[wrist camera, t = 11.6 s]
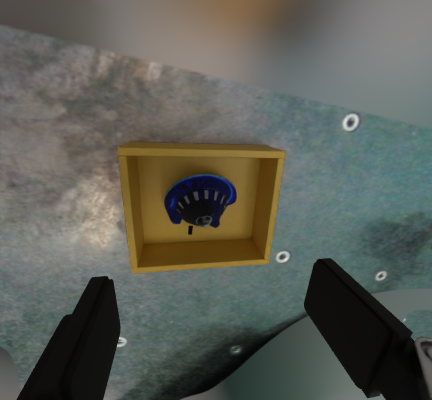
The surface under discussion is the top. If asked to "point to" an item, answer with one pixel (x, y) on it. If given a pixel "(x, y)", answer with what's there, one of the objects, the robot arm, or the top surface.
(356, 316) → the robot arm
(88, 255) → the top surface
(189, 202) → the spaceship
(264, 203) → the bin
